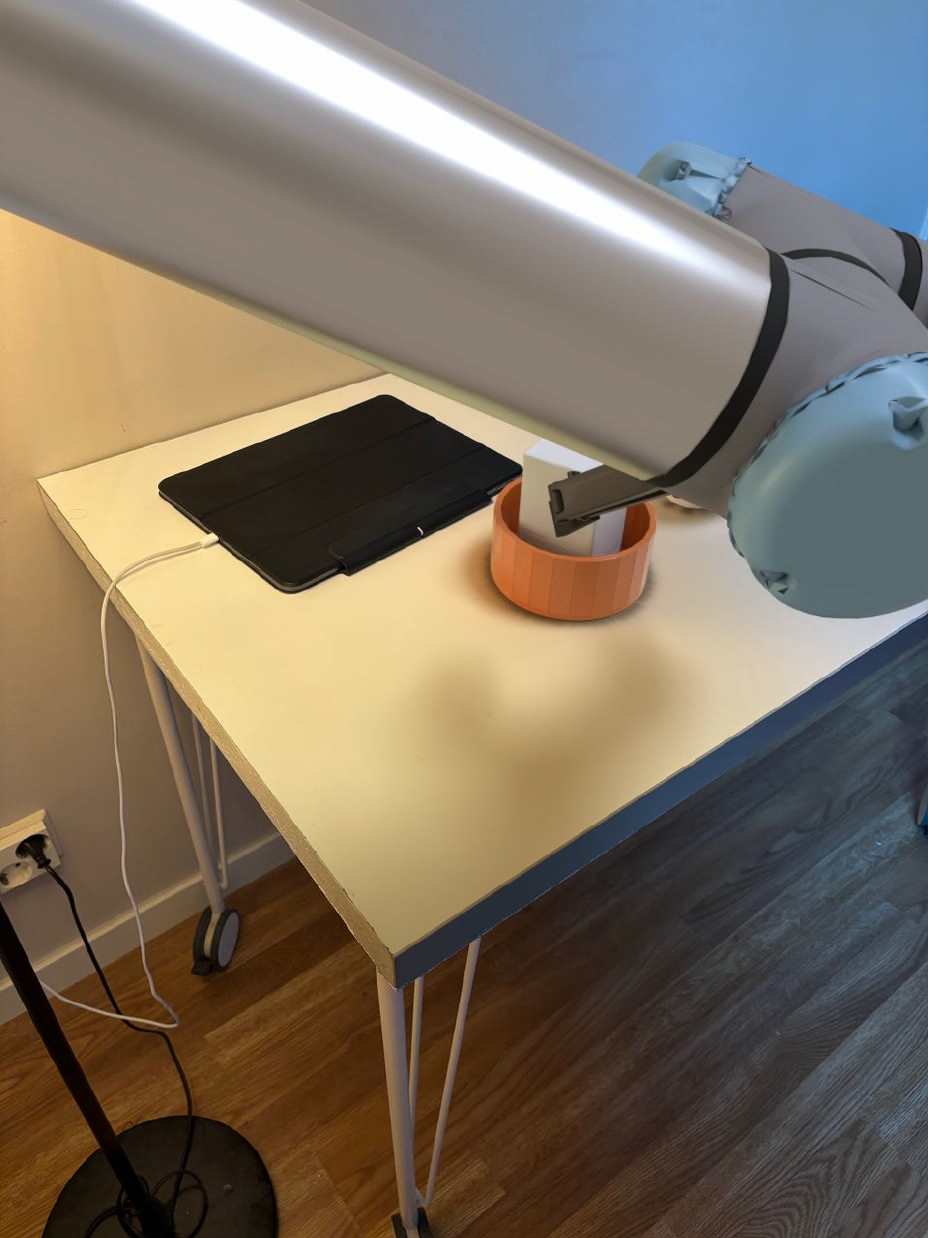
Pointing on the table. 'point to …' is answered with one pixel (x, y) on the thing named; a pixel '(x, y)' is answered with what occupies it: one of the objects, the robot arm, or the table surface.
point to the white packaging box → (535, 516)
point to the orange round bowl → (569, 566)
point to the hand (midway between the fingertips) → (640, 504)
